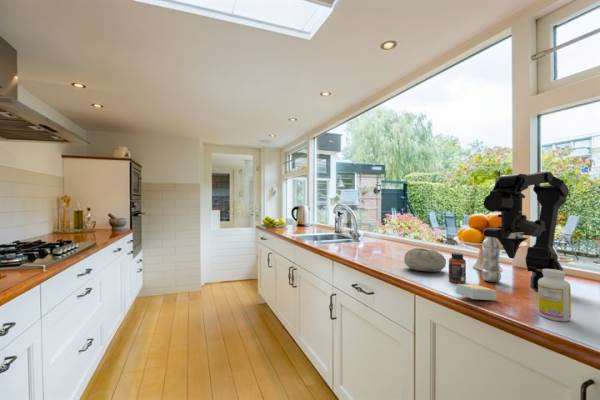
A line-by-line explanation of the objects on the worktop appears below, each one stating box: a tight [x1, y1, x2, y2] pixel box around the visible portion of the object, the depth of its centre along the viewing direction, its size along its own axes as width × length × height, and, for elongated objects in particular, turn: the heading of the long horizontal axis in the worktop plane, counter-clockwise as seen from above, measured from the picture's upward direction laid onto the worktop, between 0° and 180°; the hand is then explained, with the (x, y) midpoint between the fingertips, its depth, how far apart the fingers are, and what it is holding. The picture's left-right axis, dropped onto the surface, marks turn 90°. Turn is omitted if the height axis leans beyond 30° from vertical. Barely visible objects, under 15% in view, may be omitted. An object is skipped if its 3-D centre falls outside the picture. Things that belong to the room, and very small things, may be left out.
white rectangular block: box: [456, 283, 498, 301], centre depth 91 cm, size 3×6×10 cm
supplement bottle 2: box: [537, 269, 572, 322], centre depth 77 cm, size 7×7×13 cm
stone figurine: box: [481, 236, 502, 283], centre depth 113 cm, size 6×7×20 cm
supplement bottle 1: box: [448, 252, 467, 284], centre depth 112 cm, size 6×6×11 cm
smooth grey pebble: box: [403, 247, 447, 272], centre depth 131 cm, size 18×18×10 cm
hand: (511, 258), depth 94 cm, fingers closed
